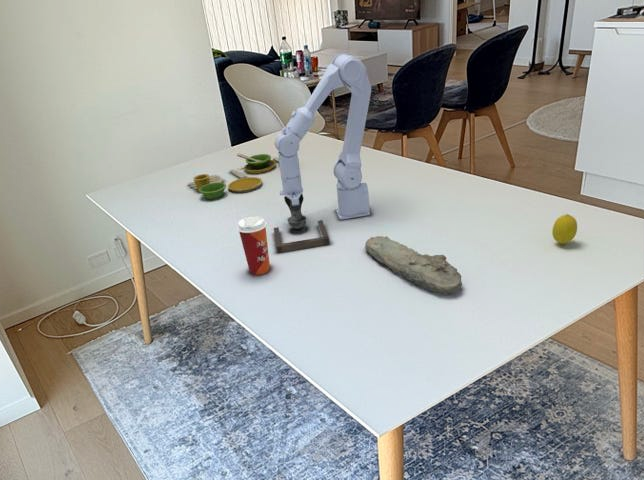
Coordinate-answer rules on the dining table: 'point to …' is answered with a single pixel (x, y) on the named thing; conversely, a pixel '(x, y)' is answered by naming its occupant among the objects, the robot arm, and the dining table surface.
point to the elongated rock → (416, 265)
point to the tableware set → (256, 164)
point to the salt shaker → (296, 219)
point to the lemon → (564, 229)
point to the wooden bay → (303, 243)
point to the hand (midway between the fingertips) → (296, 219)
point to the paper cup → (255, 244)
